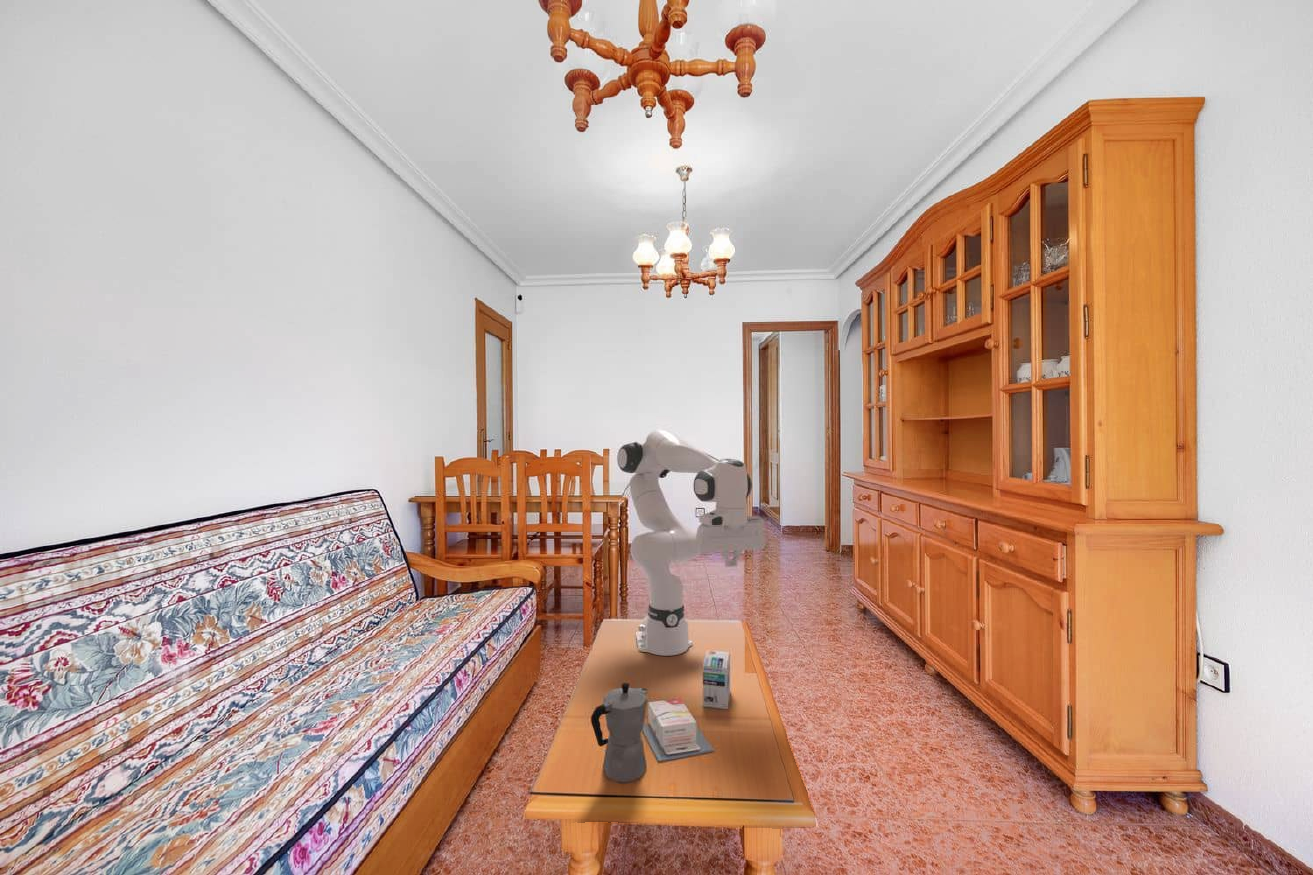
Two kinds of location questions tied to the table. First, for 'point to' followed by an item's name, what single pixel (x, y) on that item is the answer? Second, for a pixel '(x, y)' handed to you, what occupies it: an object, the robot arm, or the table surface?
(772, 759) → the table surface
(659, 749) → the mat
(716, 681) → the light bulb box
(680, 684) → the table surface
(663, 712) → the ink cartridge box
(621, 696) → the coffeepot
